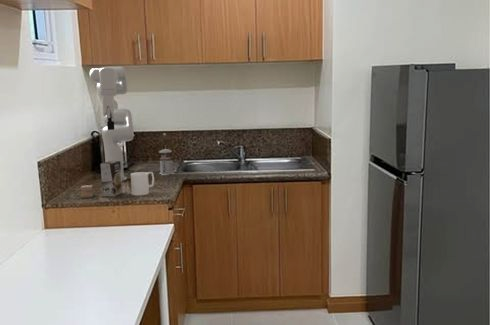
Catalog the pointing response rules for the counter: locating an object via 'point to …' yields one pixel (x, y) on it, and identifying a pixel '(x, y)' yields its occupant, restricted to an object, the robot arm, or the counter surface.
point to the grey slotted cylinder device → (166, 163)
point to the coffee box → (111, 178)
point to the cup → (140, 183)
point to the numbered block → (87, 191)
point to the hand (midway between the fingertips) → (111, 129)
